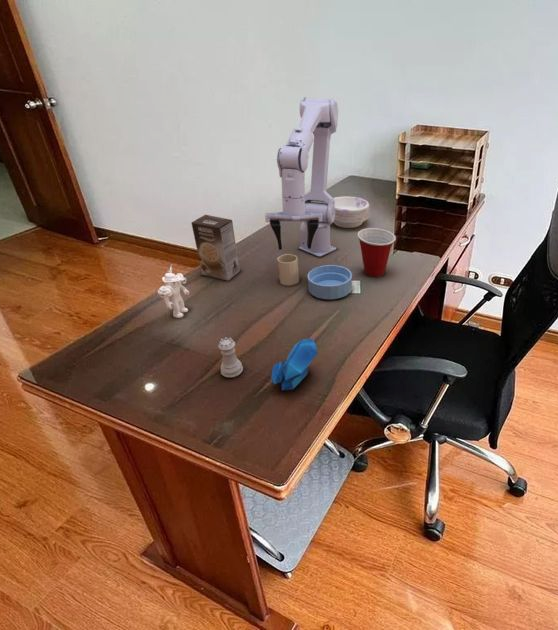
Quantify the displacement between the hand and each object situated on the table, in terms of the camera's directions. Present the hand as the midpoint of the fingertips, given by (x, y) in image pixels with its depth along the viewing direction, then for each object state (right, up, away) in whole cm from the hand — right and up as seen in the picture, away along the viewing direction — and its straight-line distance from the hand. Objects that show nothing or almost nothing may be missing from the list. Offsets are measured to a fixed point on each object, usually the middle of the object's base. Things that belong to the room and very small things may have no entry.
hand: (294, 248), depth 117 cm
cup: (-3, -8, +6) cm, 11 cm away
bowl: (+9, -11, +3) cm, 15 cm away
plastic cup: (+22, -6, +12) cm, 25 cm away
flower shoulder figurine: (-27, -18, -8) cm, 33 cm away
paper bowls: (+12, +15, +43) cm, 47 cm away
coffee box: (-23, -6, +9) cm, 25 cm away
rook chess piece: (-8, -30, -26) cm, 41 cm away
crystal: (+5, -31, -28) cm, 42 cm away
